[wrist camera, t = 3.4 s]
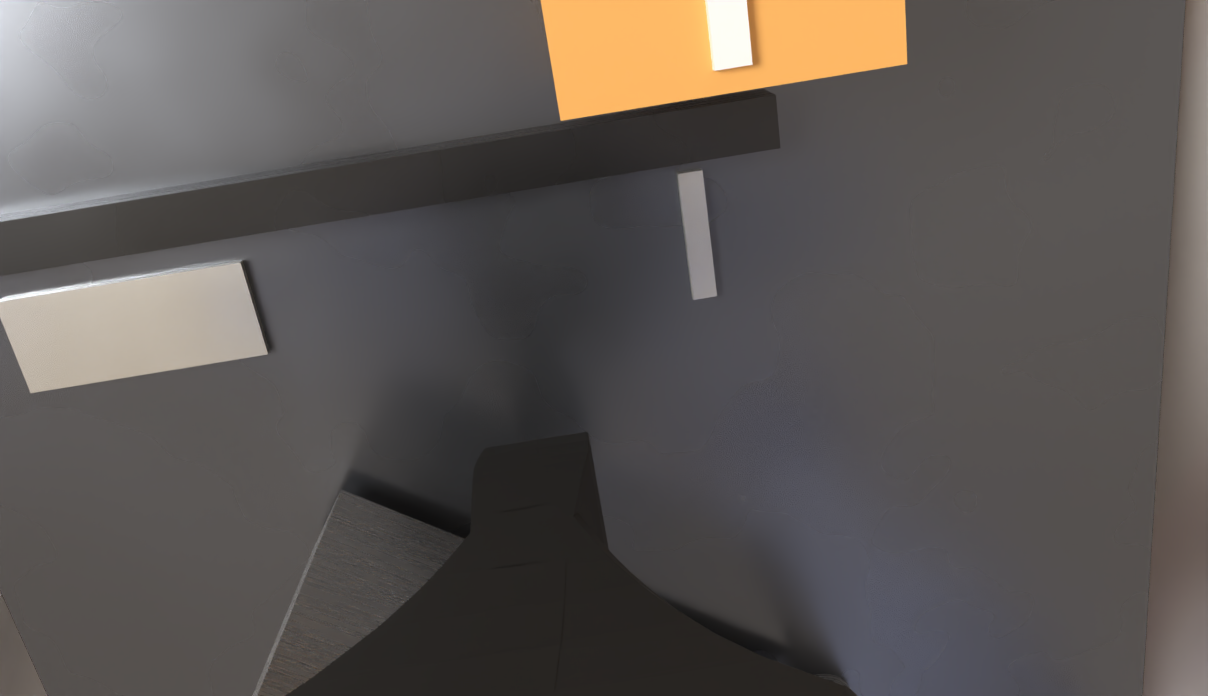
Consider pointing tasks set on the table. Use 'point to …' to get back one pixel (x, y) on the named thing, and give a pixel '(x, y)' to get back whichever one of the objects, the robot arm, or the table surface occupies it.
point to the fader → (709, 47)
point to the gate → (351, 587)
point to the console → (587, 328)
